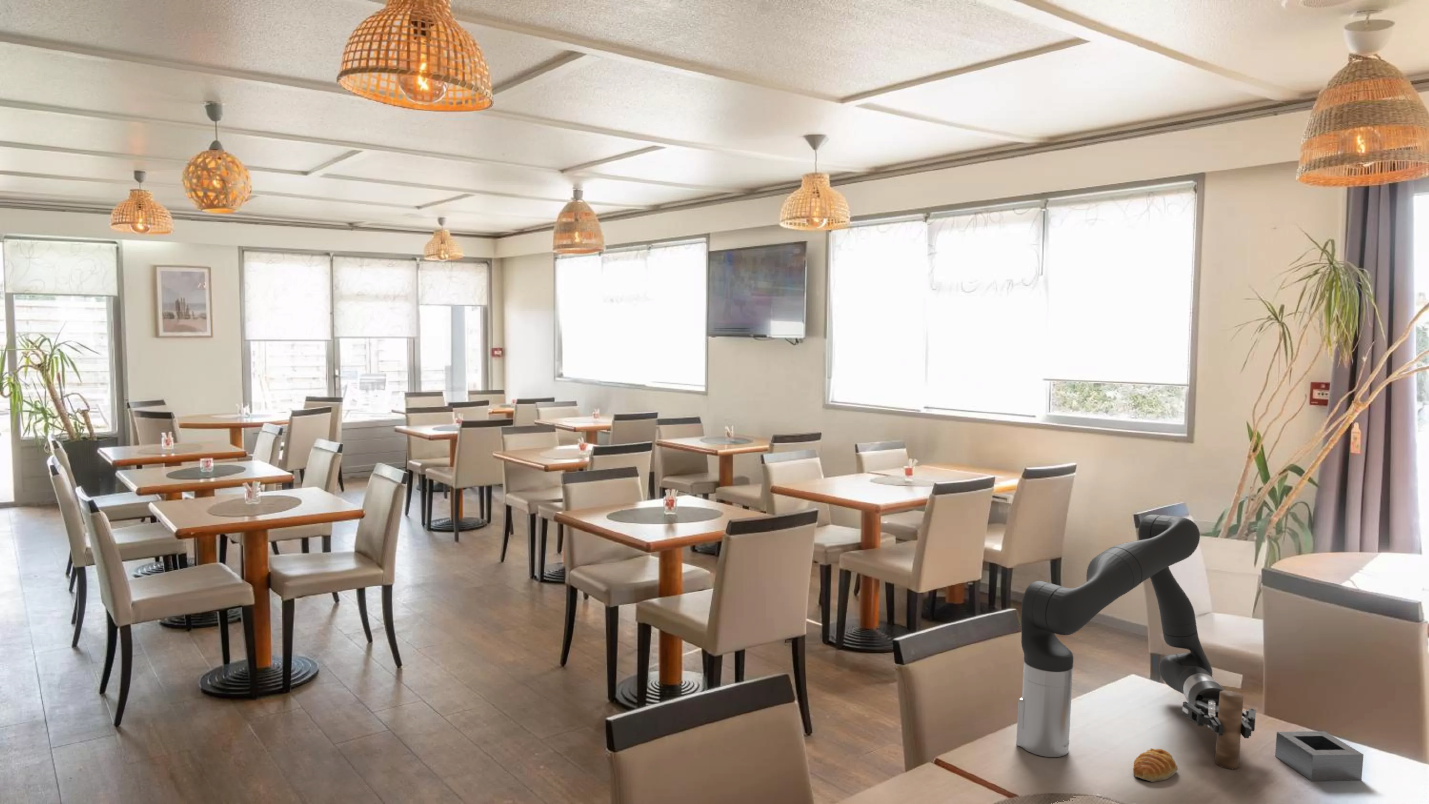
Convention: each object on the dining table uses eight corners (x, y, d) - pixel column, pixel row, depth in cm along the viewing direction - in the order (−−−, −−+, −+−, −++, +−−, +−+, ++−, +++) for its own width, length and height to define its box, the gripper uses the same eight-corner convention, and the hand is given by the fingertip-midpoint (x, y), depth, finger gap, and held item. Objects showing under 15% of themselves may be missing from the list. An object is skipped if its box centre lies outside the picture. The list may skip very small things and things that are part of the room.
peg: (1213, 764, 178) (1217, 694, 177) (1217, 757, 181) (1221, 688, 180) (1236, 771, 176) (1241, 700, 175) (1240, 763, 179) (1244, 693, 178)
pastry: (1160, 789, 169) (1161, 768, 168) (1123, 776, 174) (1124, 756, 173) (1179, 773, 175) (1180, 753, 175) (1143, 760, 180) (1144, 741, 180)
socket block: (1311, 780, 173) (1313, 755, 172) (1275, 756, 183) (1276, 731, 182) (1361, 779, 173) (1363, 754, 173) (1322, 755, 183) (1324, 731, 183)
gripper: (1171, 676, 193) (1194, 708, 177) (1245, 683, 190) (1277, 717, 173) (1169, 710, 194) (1192, 746, 177) (1243, 718, 191) (1274, 755, 174)
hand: (1234, 731), depth 175 cm, fingers closed on peg, 4 cm apart
